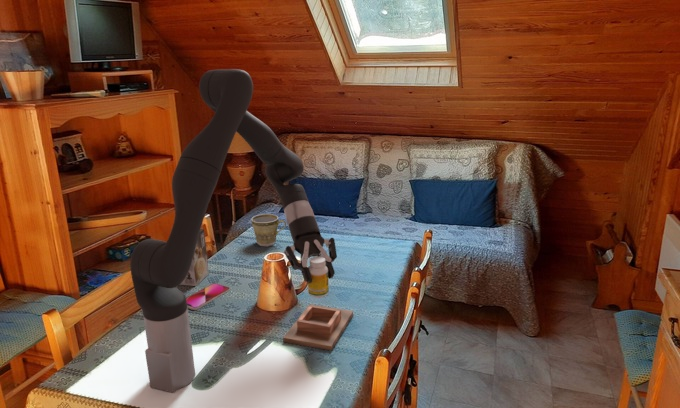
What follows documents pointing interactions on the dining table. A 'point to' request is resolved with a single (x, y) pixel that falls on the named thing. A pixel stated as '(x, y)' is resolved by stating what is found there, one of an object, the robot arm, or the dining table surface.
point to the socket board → (319, 327)
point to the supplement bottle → (318, 277)
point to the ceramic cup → (266, 228)
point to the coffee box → (198, 263)
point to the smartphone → (206, 296)
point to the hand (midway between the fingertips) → (320, 279)
